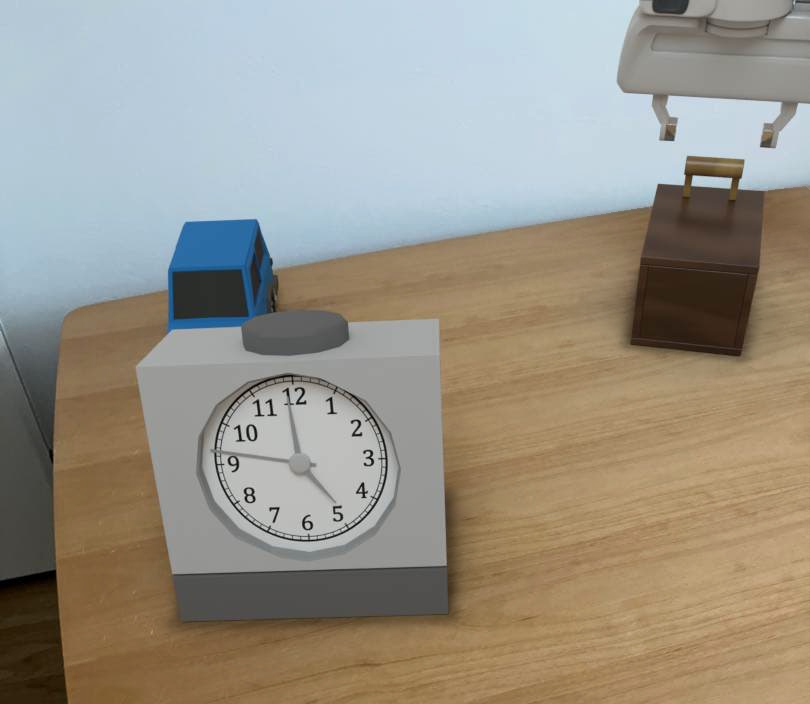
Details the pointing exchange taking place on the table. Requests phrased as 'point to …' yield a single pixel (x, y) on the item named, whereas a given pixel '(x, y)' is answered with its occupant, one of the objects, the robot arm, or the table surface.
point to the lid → (706, 221)
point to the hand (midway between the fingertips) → (716, 142)
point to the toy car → (220, 275)
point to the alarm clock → (300, 466)
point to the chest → (692, 309)
